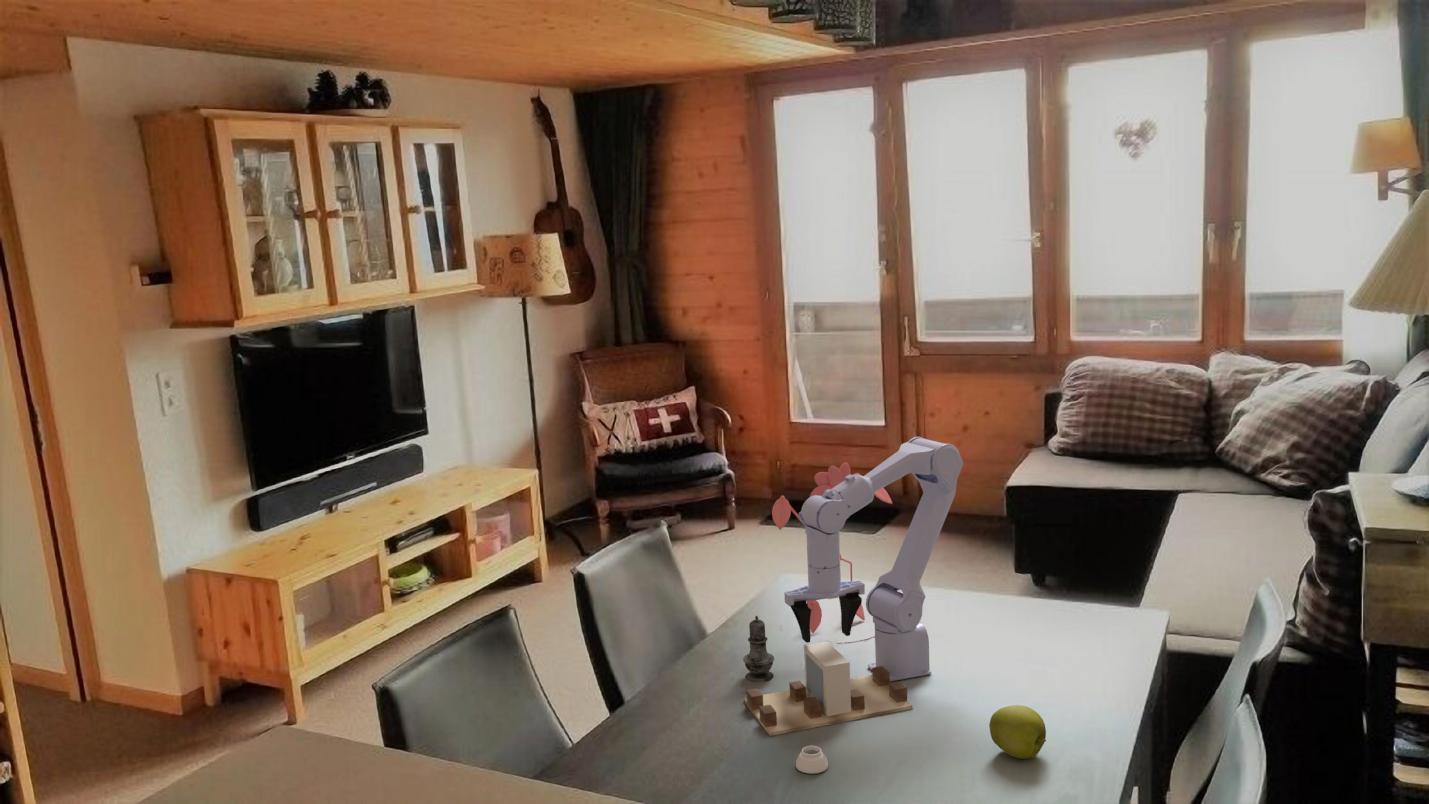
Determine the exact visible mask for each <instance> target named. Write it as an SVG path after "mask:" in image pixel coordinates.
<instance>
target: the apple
mask: <svg viewBox="0 0 1429 804" xmlns="http://www.w3.org/2000/svg"><path fill="white" fill-rule="evenodd" d="M988 725H989V733H990V737H991V740H992V742H993V743H994V744H995V745H997V746H996V747H998V748H1000V749H1001V750H1002V751H1004V753H1006V754H1007V755H1009V756H1011V757H1013V758H1017V759H1023V760H1027V759H1031V758H1034V757H1035V756H1037V755H1038V754H1039V753H1040V751H1041V749H1042V748H1043V746H1044V744H1045V743H1046V742H1047V740H1046V737H1047V730H1046V724H1045V721H1044V719H1043V718H1042V716H1041V715H1040V714H1039V713H1038V711H1036V710H1035V709H1033V708H1031V707H1029V706H1027V705H1020V704H1015V705H1009V706H1005V707H1002V708H1000V709H997V710H996V711H995V712H994V713H993V714H992V715H991V717H990V720H989V724H988Z"/></svg>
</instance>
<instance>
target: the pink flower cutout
mask: <svg viewBox="0 0 1429 804" xmlns="http://www.w3.org/2000/svg"><path fill="white" fill-rule="evenodd" d="M849 474H850V475H855V474H858V475H861V474H860V473H859V472H856V473H853V474H852V473H851V467H850V465H849V463H848V462H847V461H846V462H843V463H842V464H841V465H840V466H839V467H837V466H836V465H829V467H828V469H827V472H826V471H820V472H817V473H816V474H814V477H813V478H814V482H815V484H816V485H817V487H815V488H813V490H812V491H811V493H810V494H809V498H810V497H811V496H814V495H817V496H818V495H819V496H822V495H823V494H824V491H826V490H827V489H832V488H834V487H835V486H837V485H838V484H840V483H842V482H843V481H845V477H846V476H848V475H849ZM779 497H780V498H778V499H776V501H775V502H774V504H773V506H772V510H771V515H772V521H773V522H774V524H775V525H776V527H777V529H778V530H780V531H781V530H782V529H783V528H784V527H785V526H786V524H787V523H788V522H789V520H790V518H791V514H792V513H793V514H794V515H795V517H796V518H797V520H799V522H800V523H802V522H801V520H800V517H799V513H798V512H797V511H796V510H795V509H794V508H793V506H791V504H790V502H789V500H788V499H786V497H785V496H784V495H781V496H779ZM874 497H876V498H877V499H879V500H880V501H882V502H885V503H886V504H889V505H893V501H892V498H891V497H890V495H889V494H888V491H887V490H886V489H885V487H883V488H881V489H879V490H878V491H876V492H875V493H874ZM791 512H792V513H791ZM802 524H803V523H802ZM840 561H843V562H845V563H848V564H849V565H850V566H849V569H850V582H851V581H853V563H852V561H850V560H848V559H845V558H843V557H842V555H841V553H840ZM806 604H808V607H809V608H810V609H811V616H810V632H812V634H814V633H815V632H816V631H817V629H818V628H819V626H820V624H821V622H822V617H823V614H822V613H823V612H822V608H821V606H820V603H819V600H814V601H807V602H806ZM855 616H857V617H859V619H861V620H863V621H865V619H866V618H865V617H866V616H865V611H864V608H863V604H862V603H861V605H860V607H859V609H858V610H857V612H856V615H855ZM780 627H782V625H781V624H780ZM872 638H873V639H874V638H875V635H874V636H871V637H869V638H865V639H861V640H856V641H855V640H854V641H849V642H848V641H847V642H845V644H851V643H858V642H859V643H860V642H864V641H865V642H866V641H869V640H871V639H872ZM836 644H841V645H842V642H836Z"/></svg>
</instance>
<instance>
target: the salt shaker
mask: <svg viewBox="0 0 1429 804" xmlns="http://www.w3.org/2000/svg"><path fill="white" fill-rule="evenodd" d="M765 625H766V624H765V622H764V621H763V620H761V619H759V616H758V615H755V617H754V619H753V620H751V621H750V623H749V627H748V629H749V637H748V639H747V641H748V643H749V653H748V654H746V655H744V656H743V657H742V661H743V662H744V665H745V668H746V669H747V671H748V672H747V673H746V674H745V676H744V677H745V679H746V680H747V681H749V682H752V683H766V682H770V681H771V680H772V679H774V673H773V672H772V671H770V670H771V669H772V667H773V665H774V661H775V656H774V655H773V654H771V653H769V652H768V651H767V641H768V637H767V636H766V626H765Z"/></svg>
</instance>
